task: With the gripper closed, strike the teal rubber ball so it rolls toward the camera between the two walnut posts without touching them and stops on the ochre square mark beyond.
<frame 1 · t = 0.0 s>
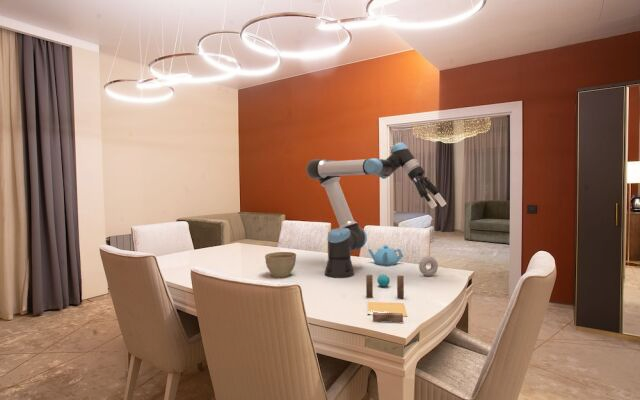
hand: (439, 206, 171), 36 cm above the table, tool tilted 35°, fingers open, 13 cm apart
brown rectangular bar: (387, 321, 126), on the table
left post: (369, 297, 152), on the table
donut: (428, 276, 185), on the table
right post: (400, 297, 150), on the table
planter bowl: (281, 275, 190), on the table
ball: (383, 280, 167), on the table
teapot: (385, 263, 215), on the table
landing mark: (386, 309, 137), on the table
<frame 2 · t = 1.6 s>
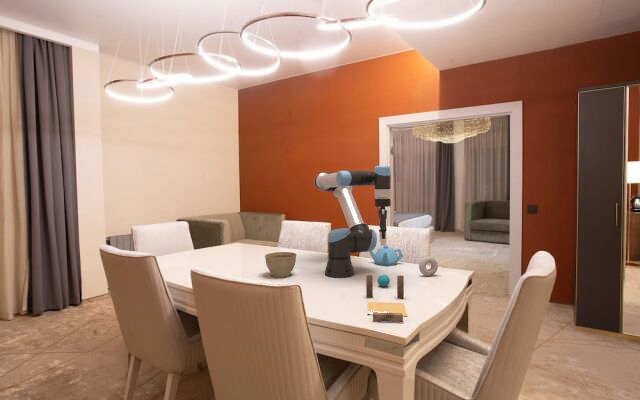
hand: (382, 243, 176), 18 cm above the table, tool pointing down, fingers open, 12 cm apart
nothing on the table moved.
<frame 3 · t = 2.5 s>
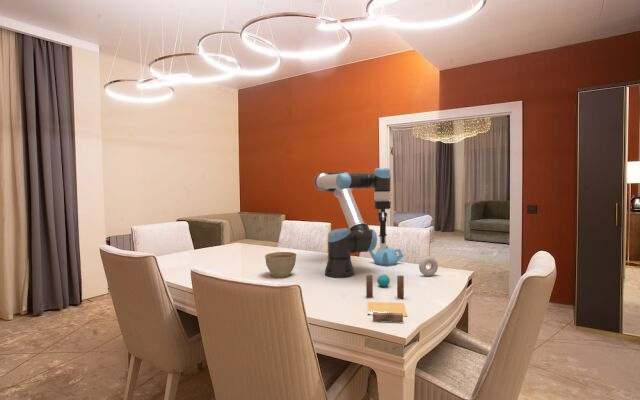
hand: (382, 249, 176), 15 cm above the table, tool pointing down, fingers closed
nothing on the table moved.
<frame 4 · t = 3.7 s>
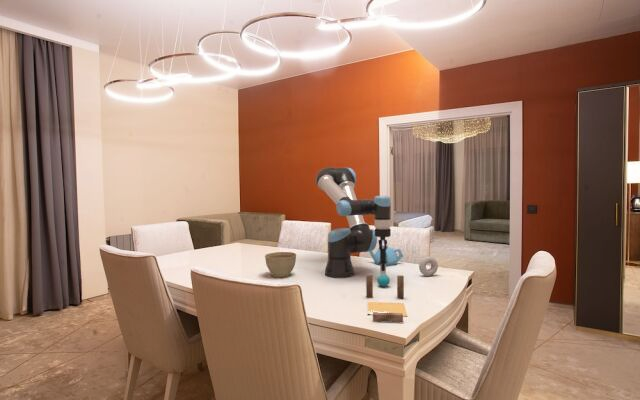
hand: (383, 276, 176), 2 cm above the table, tool pointing down, fingers closed
nothing on the table moved.
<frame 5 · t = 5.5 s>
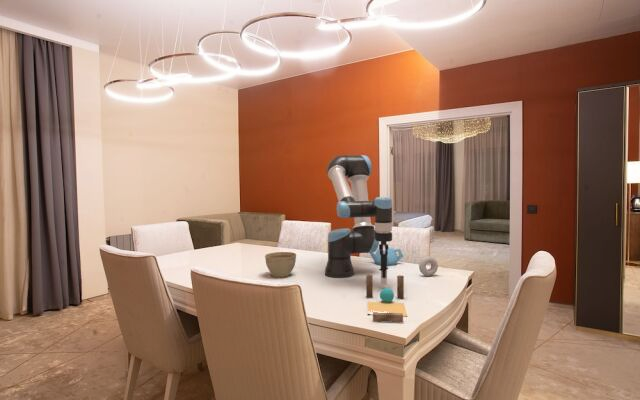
hand: (383, 284, 164), 2 cm above the table, tool pointing down, fingers closed
ball: (386, 295, 145), on the table
everything else where it was.
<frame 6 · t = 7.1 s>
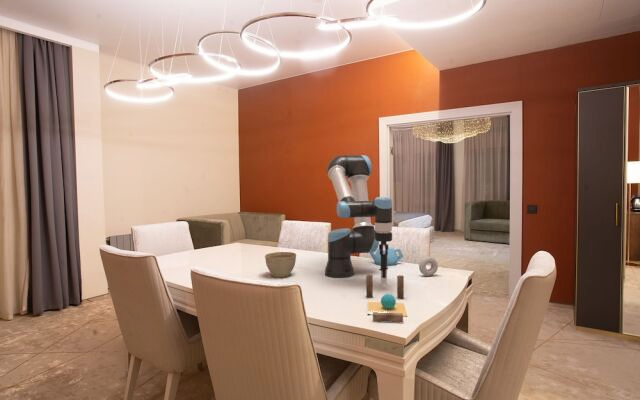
hand: (383, 284, 164), 2 cm above the table, tool pointing down, fingers closed
ball: (388, 301, 138), on the table
everything else where it was.
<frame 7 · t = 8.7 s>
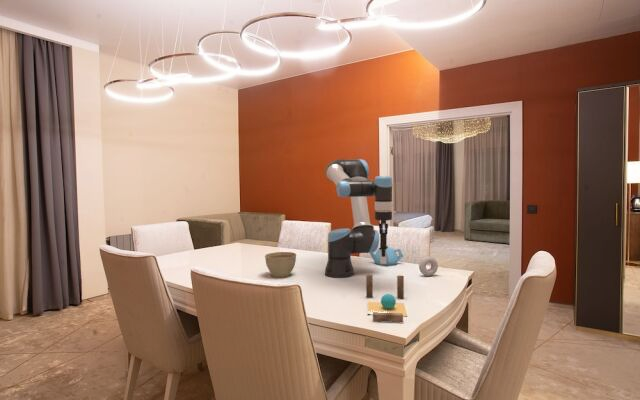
hand: (383, 263, 164), 11 cm above the table, tool pointing down, fingers closed
nothing on the table moved.
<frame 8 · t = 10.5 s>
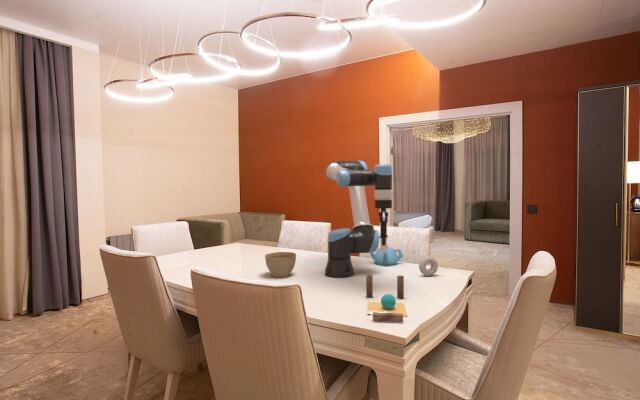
hand: (383, 252, 163), 16 cm above the table, tool pointing down, fingers closed
nothing on the table moved.
at the end: ball 0.9 cm from the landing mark (horizontally); ball never touched left post; ball never touched right post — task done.
